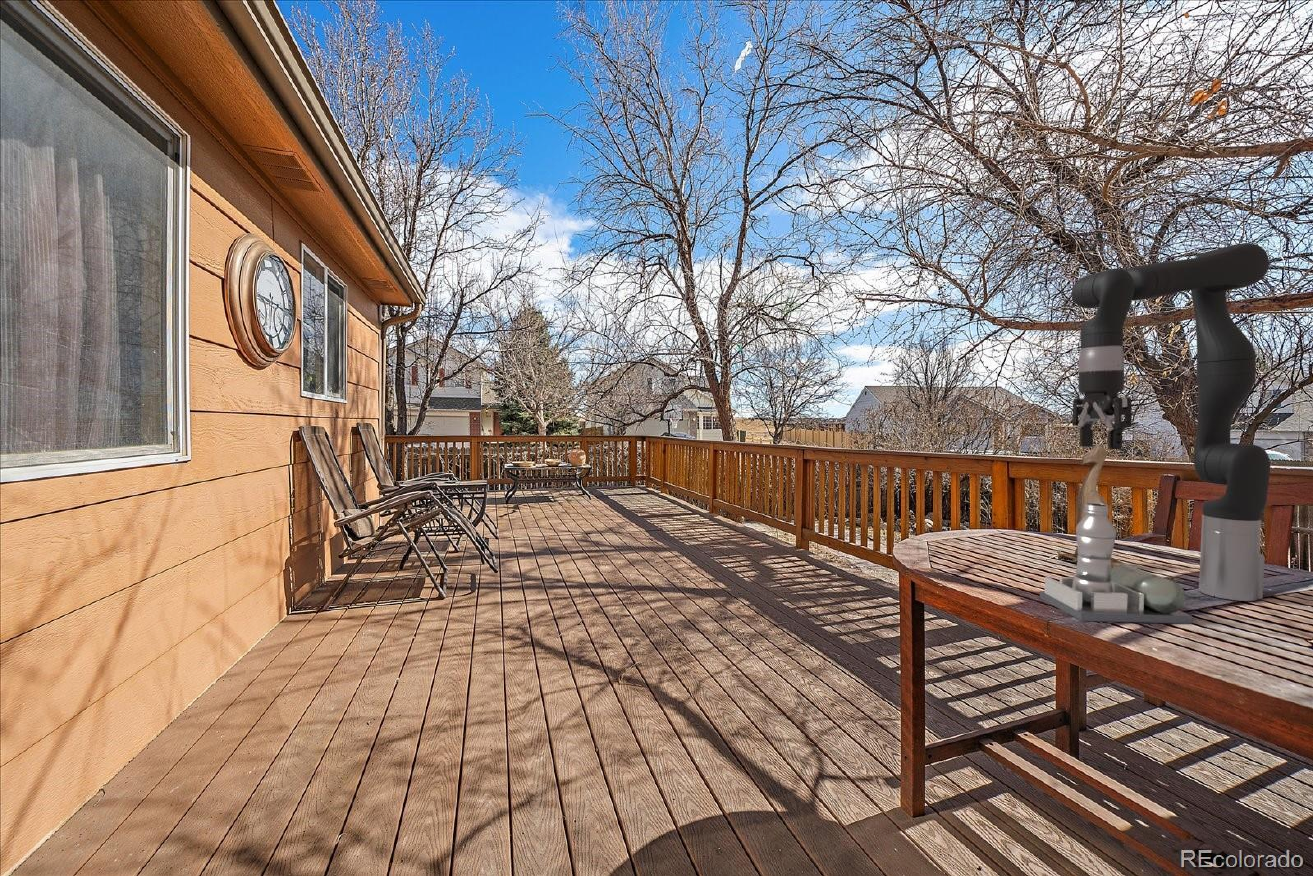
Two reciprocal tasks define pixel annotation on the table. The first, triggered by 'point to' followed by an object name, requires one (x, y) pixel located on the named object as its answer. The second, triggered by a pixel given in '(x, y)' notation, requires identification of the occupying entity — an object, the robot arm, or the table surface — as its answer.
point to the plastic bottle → (1094, 551)
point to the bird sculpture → (1090, 493)
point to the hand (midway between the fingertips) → (1100, 447)
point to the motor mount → (1122, 598)
